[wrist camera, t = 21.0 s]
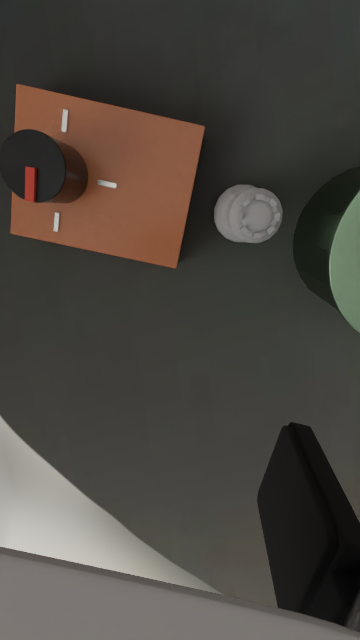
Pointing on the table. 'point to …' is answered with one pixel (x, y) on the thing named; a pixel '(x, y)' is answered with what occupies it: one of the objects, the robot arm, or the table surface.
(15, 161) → the stove knob
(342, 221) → the pot lid
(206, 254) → the table surface
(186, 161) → the knob base block
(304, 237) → the pot
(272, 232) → the rook chess piece
